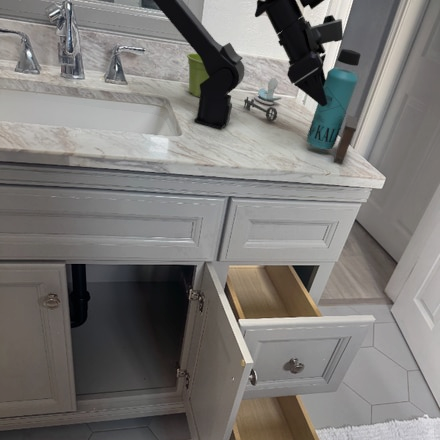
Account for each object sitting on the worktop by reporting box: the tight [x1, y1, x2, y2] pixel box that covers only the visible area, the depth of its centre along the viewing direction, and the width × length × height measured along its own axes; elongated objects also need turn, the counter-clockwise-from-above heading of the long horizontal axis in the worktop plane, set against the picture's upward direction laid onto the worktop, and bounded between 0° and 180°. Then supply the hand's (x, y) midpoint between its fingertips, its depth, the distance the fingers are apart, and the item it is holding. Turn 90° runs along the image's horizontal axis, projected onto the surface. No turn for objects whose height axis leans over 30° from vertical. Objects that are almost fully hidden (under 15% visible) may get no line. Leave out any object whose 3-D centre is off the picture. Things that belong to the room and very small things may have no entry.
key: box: [243, 96, 278, 122], centre depth 105 cm, size 12×1×3 cm, turn 39°
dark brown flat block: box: [333, 114, 358, 165], centre depth 91 cm, size 2×9×8 cm, turn 164°
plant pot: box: [186, 52, 209, 98], centre depth 109 cm, size 9×9×9 cm
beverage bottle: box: [306, 48, 361, 150], centre depth 88 cm, size 6×7×20 cm
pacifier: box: [254, 77, 282, 106], centre depth 115 cm, size 7×6×6 cm
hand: (325, 99), depth 88 cm, fingers open, 9 cm apart
